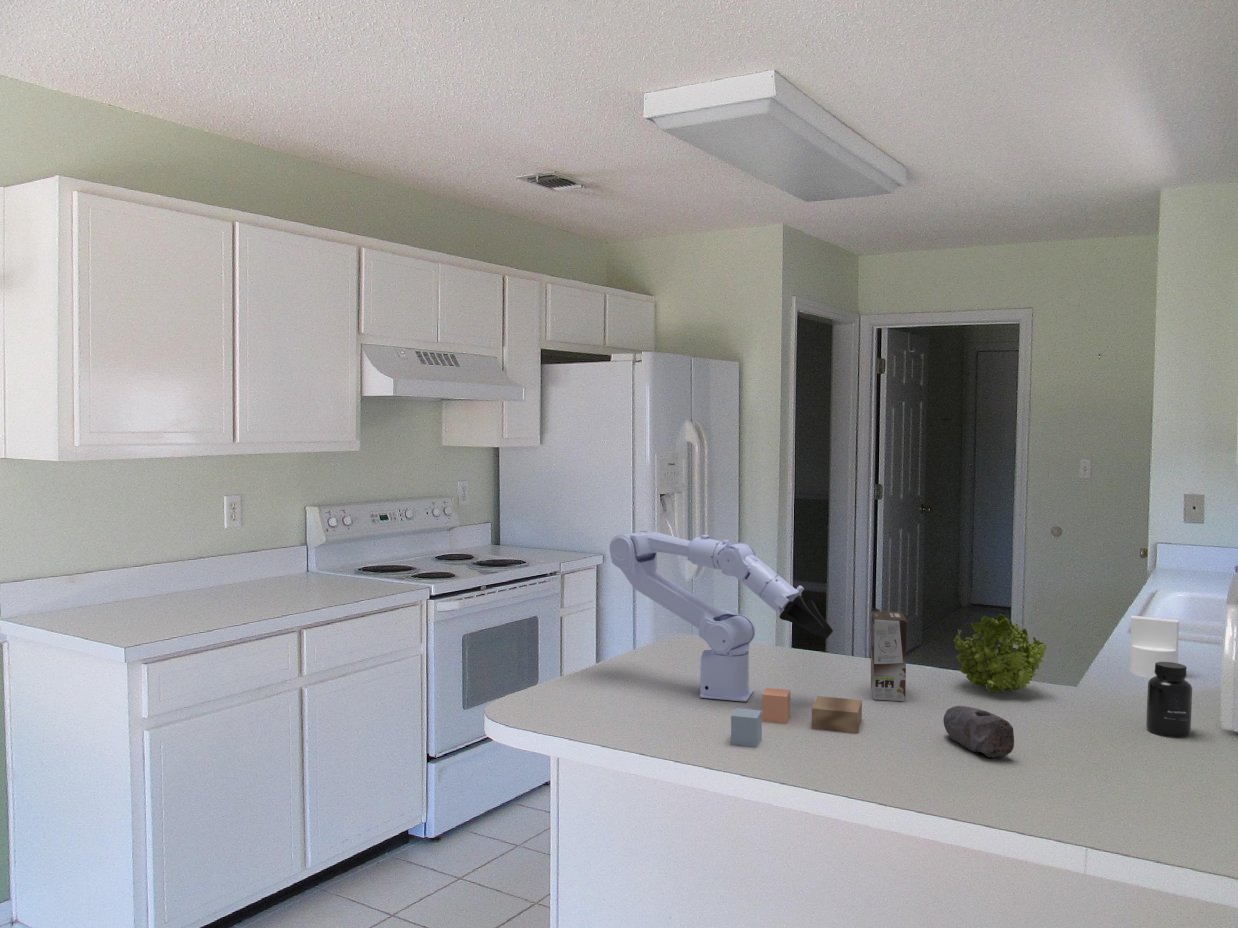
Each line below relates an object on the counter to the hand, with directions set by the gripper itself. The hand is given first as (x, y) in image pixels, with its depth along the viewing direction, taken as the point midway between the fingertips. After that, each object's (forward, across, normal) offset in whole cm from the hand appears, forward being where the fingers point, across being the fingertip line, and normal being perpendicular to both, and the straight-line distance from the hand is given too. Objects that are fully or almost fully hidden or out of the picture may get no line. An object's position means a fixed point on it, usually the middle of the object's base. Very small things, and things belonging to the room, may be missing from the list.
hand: (825, 633), depth 178 cm
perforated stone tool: (+32, -3, -1) cm, 32 cm away
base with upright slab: (+46, +60, -34) cm, 83 cm away
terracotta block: (+3, -2, +18) cm, 18 cm away
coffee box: (+13, +22, +3) cm, 25 cm away
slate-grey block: (+5, -16, +22) cm, 27 cm away
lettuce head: (+26, +34, -10) cm, 44 cm away
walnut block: (+12, 0, +12) cm, 17 cm away
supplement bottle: (+53, +19, -24) cm, 61 cm away
